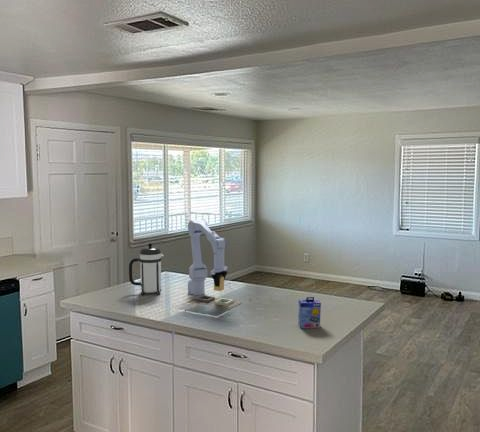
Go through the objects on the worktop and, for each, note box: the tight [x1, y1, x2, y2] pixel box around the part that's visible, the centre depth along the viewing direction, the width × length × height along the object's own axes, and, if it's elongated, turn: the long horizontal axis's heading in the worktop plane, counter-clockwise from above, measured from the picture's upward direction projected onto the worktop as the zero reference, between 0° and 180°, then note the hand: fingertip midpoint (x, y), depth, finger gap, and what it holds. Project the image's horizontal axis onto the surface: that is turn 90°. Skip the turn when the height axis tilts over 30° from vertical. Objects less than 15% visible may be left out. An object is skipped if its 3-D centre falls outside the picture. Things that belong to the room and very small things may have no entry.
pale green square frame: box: [214, 297, 235, 306], centre depth 260 cm, size 8×8×2 cm
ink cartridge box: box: [297, 296, 322, 329], centre depth 225 cm, size 10×6×14 cm, turn 95°
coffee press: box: [128, 242, 165, 296], centre depth 284 cm, size 17×16×30 cm
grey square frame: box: [196, 294, 216, 303], centre depth 266 cm, size 8×8×2 cm
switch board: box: [188, 295, 243, 311], centre depth 263 cm, size 26×14×1 cm, turn 61°
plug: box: [213, 275, 225, 292], centre depth 261 cm, size 4×4×8 cm
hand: (219, 285), depth 261 cm, fingers closed on plug, 4 cm apart
